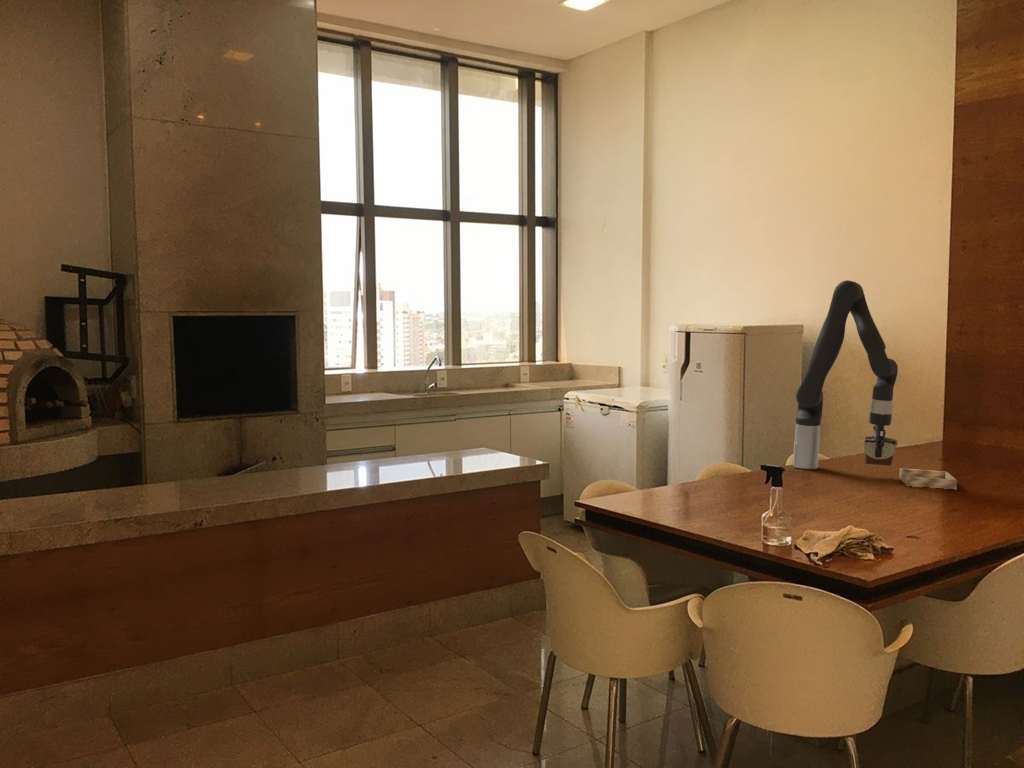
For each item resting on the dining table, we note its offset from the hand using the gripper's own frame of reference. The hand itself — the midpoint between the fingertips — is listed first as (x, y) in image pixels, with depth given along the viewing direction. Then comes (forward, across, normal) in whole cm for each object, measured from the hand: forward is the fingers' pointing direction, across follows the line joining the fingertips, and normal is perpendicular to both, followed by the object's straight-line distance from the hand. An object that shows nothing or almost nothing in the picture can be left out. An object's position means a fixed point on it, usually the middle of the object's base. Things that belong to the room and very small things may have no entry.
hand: (876, 455), depth 305 cm
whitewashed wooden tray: (+8, +6, +17) cm, 19 cm away
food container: (+3, 0, 0) cm, 3 cm away
